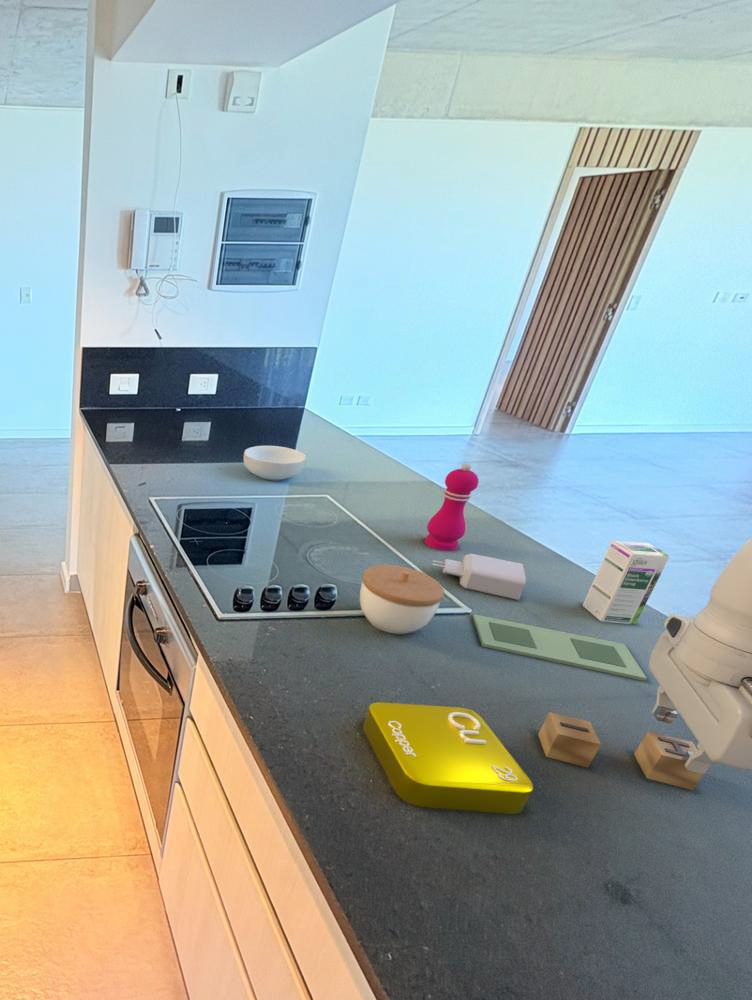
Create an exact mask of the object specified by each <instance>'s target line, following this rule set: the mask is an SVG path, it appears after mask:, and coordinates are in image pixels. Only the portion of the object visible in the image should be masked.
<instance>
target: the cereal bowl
mask: <svg viewBox="0 0 752 1000" xmlns="http://www.w3.org/2000/svg"><path fill="white" fill-rule="evenodd" d="M306 461H307V456H306V455H305V453H303V452H301V451H300V450H297V449H294V448H290V447H285V446H280V445H279V446H278V445H255V446H251V447H247V448H246V449H244V452H243V464H244V467H245V469H247V471H249V472H250V473H251V474H252V475H255V476H257V477H258V478H260V479H264V480H266V481H267V480H268V481H284V480H286V479H289V478H290V479H291V478H294V477H296V476H297V475H299V474H300V473H301V472H302V471H303V469H304V468H305V465H306Z"/></svg>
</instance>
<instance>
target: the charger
mask: <svg viewBox="0 0 752 1000" xmlns="http://www.w3.org/2000/svg"><path fill="white" fill-rule="evenodd" d="M432 562H433V563H432V566H434V567H438V568H442V573H443V574H445V575H446V574H447V575H451V576H456V577H459V585H460V586H461V587H462V588H464V589H467V590H471V591H476V592H480V593H485V594H489V595H492V596H498V597H502V598H505V599H511V600H514V601H515V600H516V601H519V600H520V599H521V597H522V594H523V591H524V589H525V586H526V583H527V577H526V573H525V568H524V564H523V563H520V562H516V561H511V560H510V561H509V560H506V559H500V558H495V557H490V556H485V555H481V554H477V553H467V554H465V555H464V556H463V559H462V561H459V560H454V559H450V558H445V559H444V561H439V560H435V559H434V560H432Z"/></svg>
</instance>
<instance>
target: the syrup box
mask: <svg viewBox="0 0 752 1000" xmlns="http://www.w3.org/2000/svg"><path fill="white" fill-rule="evenodd" d="M669 559H670V555H669V554H667V553H666V552H664V551H663V550H662V549H660V548H658V547H657V546H655V545H653V544H651V543H649V542H635V541H619V540H611V541H610V543H609V546H608V548H607V550H606V552H605V554H604V557H603V558H602V561H601V563H600V566H599V568H598V570H597V573H596V574H595V577H594V579H593V581H592V584H591V586H590V588H589V590H588V593H587V595H586V597H585V599H584V601H583V603H582V606H583V608H585V609H586V610H587V611H588V612H589V613H590V614H592V615H593V616H594V617H595V618H596V619H598V621H600V622H602V623H603V622H604V623H612V624H624V625H636V624H637V623H638V620H639V618H640V617H641V615H642V613H643V610H644V609H645V606H646V605H647V602H648V600H649V599H650V597H651V595H652V594H653V591H654V588H655V587H656V584H657V583H658V581H659V579H660V577H661V575H662V573H663V571H664V570H665V567H666V565H667V563H668V561H669Z"/></svg>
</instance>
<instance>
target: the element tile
mask: <svg viewBox="0 0 752 1000" xmlns="http://www.w3.org/2000/svg"><path fill="white" fill-rule="evenodd" d="M362 730H363V732H364V734H365V736H366V738H367V740H368V741H369V742H368V743H369V744H370V746H371V748H372V750H373V751H374V753H375V755H376V757H377V759H378V761H379V763H380V765H381V767H382V769H383V770H384V773H385V774H386V777H387V779H388V780H389V782H390V784H391V786H392V789H393V790H394V792H395V793H396V794H397V796H398V797H399V798H400V799H401V800H402V801H404V802H406V803H407V804H410V805H412V806H415V807H420V808H431V809H443V810H457V811H469V812H482V813H483V812H484V813H495V814H508V815H516V814H519V813H521V812H523V810H524V808H525V806H526V804H527V801H528V800H529V798H530V796H531V794H532V792H533V790H534V784H533V782H532V780H531V779H530V777H529V776H528V775H527V773H525V771H524V770H523V768H522V767H521V766H520V765H519V763H518V762H517V761H516V759H515V758H514V757H513V756H512V754H511V753H510V752H509V751H508V749H507V748H506V747H505V746H504V744H503V743H502V742H501V740H500V739H499V738H498V736H497V735H496V734H495V733H494V731H493V730H492V729H491V727H490V726H489V725H488V723H487V722H486V721H485V719H483V718H482V717H481V715H479V714H478V713H477V712H475V711H474V710H473V709H470V708H465V707H461V706H460V707H459V706H448V705H447V706H446V705H430V704H417V703H416V704H415V703H402V702H401V703H400V702H384V701H376V702H372V703H371V704H370V705H368V709H367V712H366V715H365V718H364V722H363V725H362Z"/></svg>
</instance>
